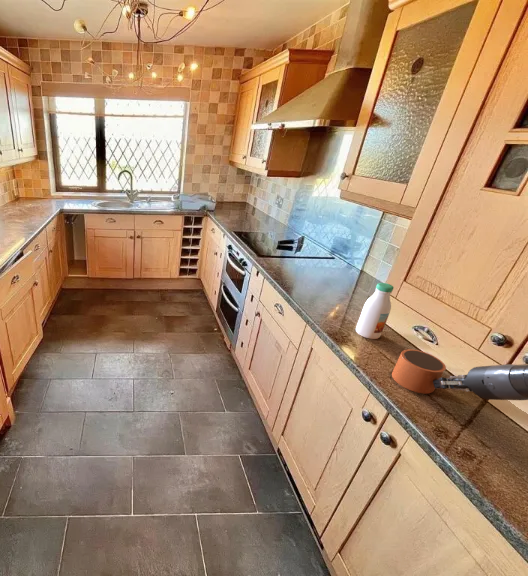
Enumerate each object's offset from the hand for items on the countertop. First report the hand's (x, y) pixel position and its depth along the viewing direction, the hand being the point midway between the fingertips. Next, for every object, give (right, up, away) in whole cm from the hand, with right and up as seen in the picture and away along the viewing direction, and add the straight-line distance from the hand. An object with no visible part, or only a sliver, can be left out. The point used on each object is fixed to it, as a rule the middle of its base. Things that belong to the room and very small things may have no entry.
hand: (436, 384), depth 85 cm
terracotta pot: (-1, -1, +7) cm, 7 cm away
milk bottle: (+2, +10, +29) cm, 30 cm away
